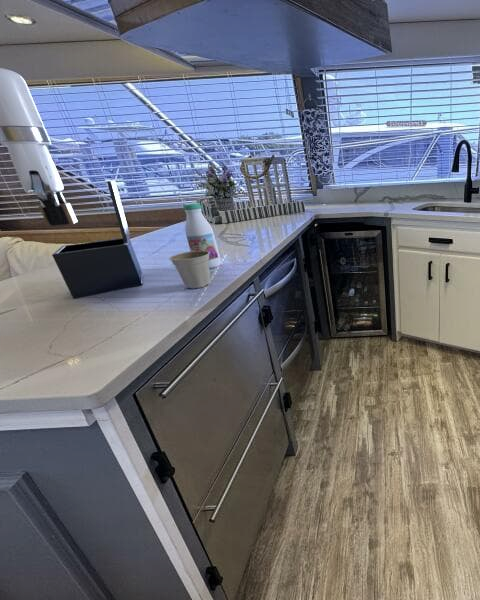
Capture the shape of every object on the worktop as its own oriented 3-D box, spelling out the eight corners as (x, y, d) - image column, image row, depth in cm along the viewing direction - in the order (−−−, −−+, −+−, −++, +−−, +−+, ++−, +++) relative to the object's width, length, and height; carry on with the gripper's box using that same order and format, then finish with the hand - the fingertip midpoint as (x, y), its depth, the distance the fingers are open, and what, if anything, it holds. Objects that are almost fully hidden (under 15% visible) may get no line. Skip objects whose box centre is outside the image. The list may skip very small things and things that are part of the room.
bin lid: (106, 181, 80) (110, 181, 81) (111, 180, 90) (114, 180, 90) (124, 243, 86) (128, 242, 86) (126, 235, 95) (130, 235, 96)
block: (48, 226, 74) (38, 206, 72) (52, 224, 77) (44, 204, 75) (74, 224, 76) (65, 204, 74) (77, 221, 79) (69, 202, 77)
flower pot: (209, 277, 95) (201, 248, 92) (223, 283, 90) (215, 253, 86) (173, 286, 89) (163, 256, 85) (187, 294, 83) (176, 261, 80)
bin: (73, 298, 83) (51, 254, 78) (81, 285, 92) (62, 245, 88) (142, 285, 91) (126, 244, 86) (143, 274, 100) (129, 237, 96)
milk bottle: (199, 264, 109) (180, 203, 101) (224, 261, 111) (208, 201, 103) (193, 270, 102) (172, 206, 94) (219, 267, 104) (202, 204, 96)
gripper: (13, 140, 74) (50, 221, 81) (-18, 134, 61) (29, 230, 68) (57, 140, 77) (89, 217, 85) (37, 134, 65) (77, 225, 72)
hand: (62, 222), depth 76 cm, fingers closed on block, 4 cm apart
